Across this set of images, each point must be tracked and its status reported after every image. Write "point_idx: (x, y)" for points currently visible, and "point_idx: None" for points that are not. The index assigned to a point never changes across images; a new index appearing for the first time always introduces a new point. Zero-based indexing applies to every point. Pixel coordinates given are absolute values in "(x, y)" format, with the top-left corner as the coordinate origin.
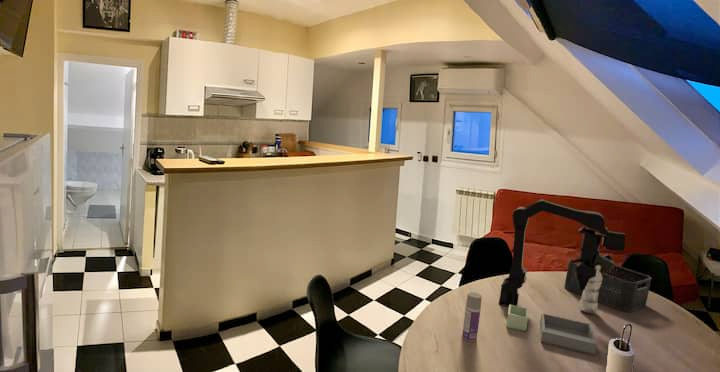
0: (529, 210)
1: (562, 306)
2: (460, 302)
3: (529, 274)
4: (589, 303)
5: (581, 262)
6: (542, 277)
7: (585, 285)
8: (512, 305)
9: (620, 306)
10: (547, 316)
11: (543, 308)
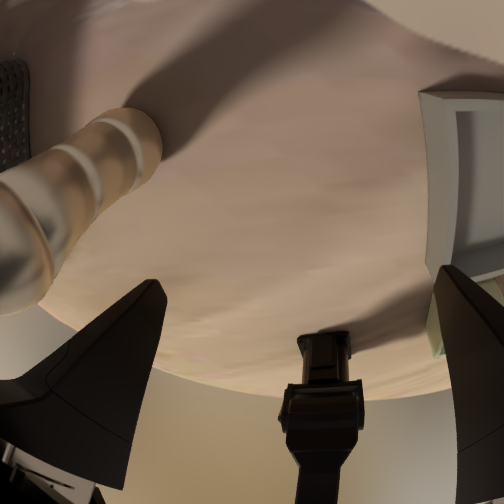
0: None
1: (179, 228)
2: (389, 386)
3: (69, 321)
4: (136, 147)
5: (89, 491)
6: (52, 299)
7: (497, 309)
8: (438, 353)
9: (17, 84)
10: None
11: (273, 275)
